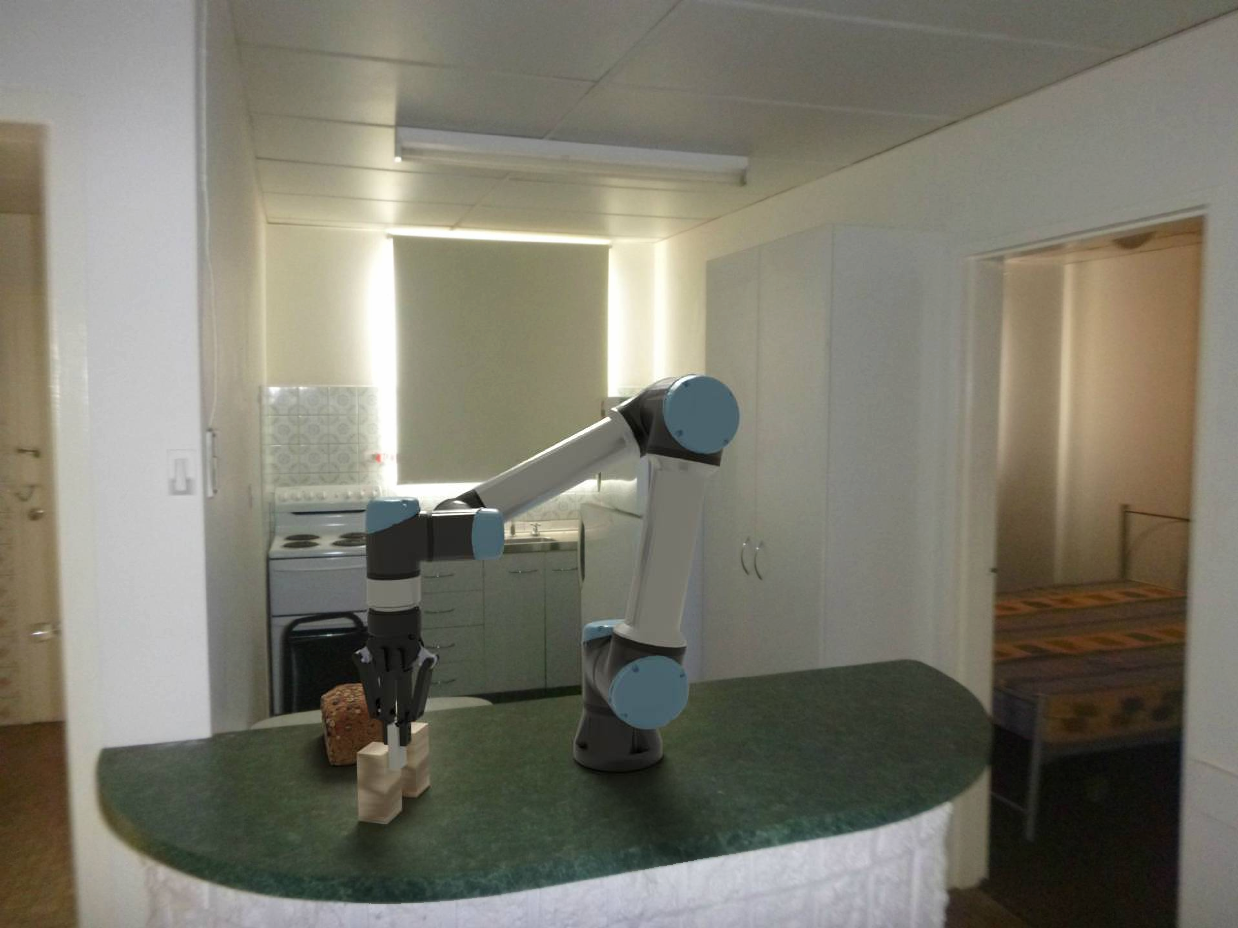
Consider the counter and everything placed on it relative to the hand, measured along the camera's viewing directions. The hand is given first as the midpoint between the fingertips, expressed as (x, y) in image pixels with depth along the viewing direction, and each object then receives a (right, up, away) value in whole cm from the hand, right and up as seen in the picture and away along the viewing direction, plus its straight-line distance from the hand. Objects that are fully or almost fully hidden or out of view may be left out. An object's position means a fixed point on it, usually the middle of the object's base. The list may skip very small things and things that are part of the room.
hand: (397, 766), depth 129 cm
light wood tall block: (-1, -7, +10) cm, 12 cm away
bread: (-15, -6, +29) cm, 33 cm away
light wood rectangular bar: (-3, -8, +1) cm, 8 cm away
